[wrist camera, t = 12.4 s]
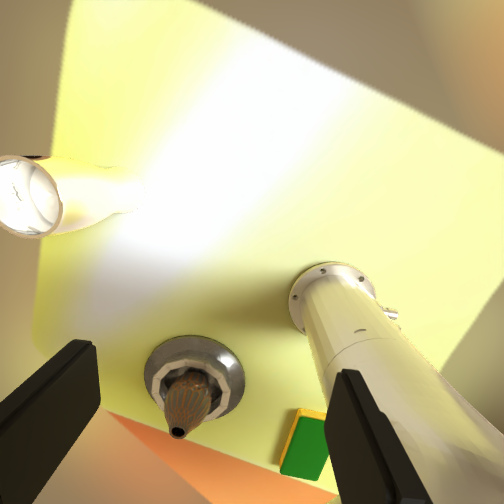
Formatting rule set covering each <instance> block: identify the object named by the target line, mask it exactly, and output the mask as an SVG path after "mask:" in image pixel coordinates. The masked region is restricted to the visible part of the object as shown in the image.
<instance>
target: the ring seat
mask: <svg viewBox="0 0 504 504" xmlns="http://www.w3.org/2000/svg"><path fill="white" fill-rule="evenodd" d="M188 372H197V373H200V374H202V375H203V376H205V377H206V378H207V380H208V381H209V383H210V386H211V390H212V400H211V406H210V409H209V411H208V414H207V416H206V417H205V419H204V420H203V422H205V421H210V420H214V419H216V418H219V417H222V416H224V415H226V414H227V413H229V412H230V411H232V410H233V409H234V408H235V407H236V406H237V405H238V403H239V402H240V400H241V398H242V396H243V393H244V388H245V374H244V370H243V367H242V365H241V363H240V361H239V359H238V358H237V357H236V355H235V354H234V353H233V352H232V351H231V350H230V349H228V348H227V347H226V346H224V345H223V344H221V343H219V342H217V341H215V340H213V339H210V338H206V337H203V336H195V335H187V336H179V337H175V338H172V339H169V340H167V341H165V342H164V343H162V344H161V345H159V346H158V347H157V348H156V349H155V350H154V352H153V353H152V354H151V356H150V357H149V359H148V361H147V363H146V366H145V371H144V380H145V385H146V388H147V390H148V392H149V394H150V396H151V397H152V399H153V400H154V401H155V402H156V403H157V405H158V406H159V408H160V409H161V410H162V411H164V403H165V398H166V395H167V392H168V390H169V388H170V386H171V385H172V384H173V382H174V381H175V380H176V379H177V378H178V377H179V376H181V375H182V374H185V373H188Z"/></svg>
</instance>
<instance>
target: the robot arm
mask: <svg viewBox="0 0 504 504" xmlns="http://www.w3.org/2000/svg"><path fill="white" fill-rule="evenodd" d="M322 268H323V270H322V271H321V269H322ZM359 277H360V278H359ZM293 295H296V296H293ZM288 306H289V312H290V316H291V318H292V321H293V323H294V324H295V325H296V327H297V328H298V329H299V330H300V331H301V332H302V333H303V334H305V335H307V338H308V342H309V345H310V349H311V352H312V356H313V360H314V363H315V367H316V370H317V374H318V377H319V381H320V385H321V388H322V392H323V394H324V398H325V402H326V405H327V408H328V410H327V414H326V418H325V422H324V434H325V439H326V443H327V447H328V451H329V455H330V459H331V463H332V467H333V471H334V475H335V479H336V483H337V487H338V491H339V495H338V496H336V497H335V498H333V499H332V500H330V501H329V502H328V503H326V504H504V435H503V434H502V433H501V432H499V431H498V430H497V429H496V428H495V427H494V426H493V425H492V424H491V423H490V422H488V421H487V420H486V419H485V418H484V417H483V416H482V415H481V414H480V413H479V412H478V411H477V410H475V409H474V408H473V407H472V406H471V405H470V404H469V403H468V402H467V401H466V400H465V399H464V398H463V397H462V396H461V395H460V394H459V393H458V392H457V391H456V390H455V389H454V388H453V387H452V386H451V385H450V384H449V383H448V382H447V381H446V380H445V379H444V378H443V376H441V374H440V373H439V372H438V371H437V370H436V369H435V368H434V367H433V366H432V365H431V364H430V362H429V361H428V360H427V359H426V358H425V357H424V356H423V355H422V354H421V353H420V352H419V351H418V349H417V348H416V347H415V346H414V345H413V344H412V343H411V342H410V341H409V339H408V338H407V337H406V336H405V335H404V334H403V333H402V332H401V328H400V327H399V325H396V324H394V323H393V322H392V321H391V320H390V319H394V320H395V319H397V317H398V312H397V310H395V309H390V308H383V307H382V306H381V305H380V304H379V302H378V301H377V300H376V293H375V289H374V287H373V285H372V283H371V281H370V280H369V279H368V277H367V276H366V275H365V274H364V273H363V272H361V271H360V270H359V269H357V268H356V267H353V266H351V265H349V264H345V263H340V262H329V263H322V264H319V265H316V266H314V267H312V268H310V269H308V270H307V271H305V272H304V273H303V274H302V275H300V277H299V278H298V279H297V280H296V281H295V283H294V284H293V286H292V288H291V291H290V294H289V300H288ZM100 401H101V397H100V386H99V376H98V365H97V355H96V347H95V346H94V345H92V342H91V341H86V340H77V339H74V340H72V341H70V342H69V343H68V344H67V345H66V346H65V347H64V348H62V349H61V350H60V351H59V352H58V353H57V354H56V355H54V356H53V357H52V358H51V359H50V360H49V361H47V362H46V363H45V364H44V365H43V366H42V367H41V368H39V369H38V370H37V371H36V372H35V373H34V374H33V375H31V376H30V377H29V378H28V379H27V380H26V381H25V382H23V383H22V384H21V385H20V386H19V387H18V388H16V389H15V390H14V391H13V392H12V393H11V394H10V395H8V396H7V397H6V398H5V399H4V400H3V401H2V402H0V504H32V503H33V502H34V500H35V499H36V497H37V496H38V494H39V493H40V492H41V490H42V489H43V487H44V486H45V484H46V483H47V481H48V480H49V479H50V477H51V476H52V474H53V473H54V471H55V470H56V468H57V467H58V466H59V464H60V463H61V461H62V460H63V458H64V457H65V455H66V454H67V453H68V451H69V450H70V448H71V447H72V446H73V444H74V443H75V441H76V440H77V438H78V437H79V436H80V434H81V433H82V431H83V430H84V428H85V427H86V425H87V424H88V423H89V421H90V420H91V418H92V417H93V415H94V414H95V413H96V411H97V409H98V408H99V405H100Z"/></svg>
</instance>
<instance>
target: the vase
mask: <svg viewBox="0 0 504 504" xmlns="http://www.w3.org/2000/svg"><path fill="white" fill-rule="evenodd" d="M211 400H212V390H211V386H210V383H209V381H208V380H207V378H206V377H205V376H203V375H202V374H200V373H197V372H188V373H185V374H182V375H181V376H179V377H178V378H177V379H176V380H175V381H174V382H173V384H172V385H171V386H170V388H169V390H168V392H167V395H166V398H165V403H164V414H165V418H166V420H167V423H168V425H169V433H170V435H171V436H172V437H173V438H176V439H182V438H184V437H186V435H187V434H188V433H189V432H190V431H192V430H193V429H195V428H196V427H198V426H199V425H200V424H201V423H202V422H203V420H204V419H205V417H206V416H207V414H208V411H209V409H210V406H211Z"/></svg>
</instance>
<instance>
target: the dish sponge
mask: <svg viewBox="0 0 504 504" xmlns="http://www.w3.org/2000/svg"><path fill="white" fill-rule="evenodd" d="M325 418H326V413H321V412H316V411H312V410H307V409H302V408H300V409H298V411H297V414H296V416H295V419H294V422H293V425H292V428H291V430H290V433H289V436H288V439H287V441H286V444H285V447H284V450H283V452H282V455H281V458H280V461H279V465H280V473H281V474H282V475H287V476H292V477H297V478H302V479H307V480H312V481H317V480H318V478H319V476H320V474H321V471H322V469H323V467H324V465H325V462H326V460H327V458H328V455H329V451H328V447H327V443H326V439H325V434H324V422H325Z"/></svg>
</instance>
